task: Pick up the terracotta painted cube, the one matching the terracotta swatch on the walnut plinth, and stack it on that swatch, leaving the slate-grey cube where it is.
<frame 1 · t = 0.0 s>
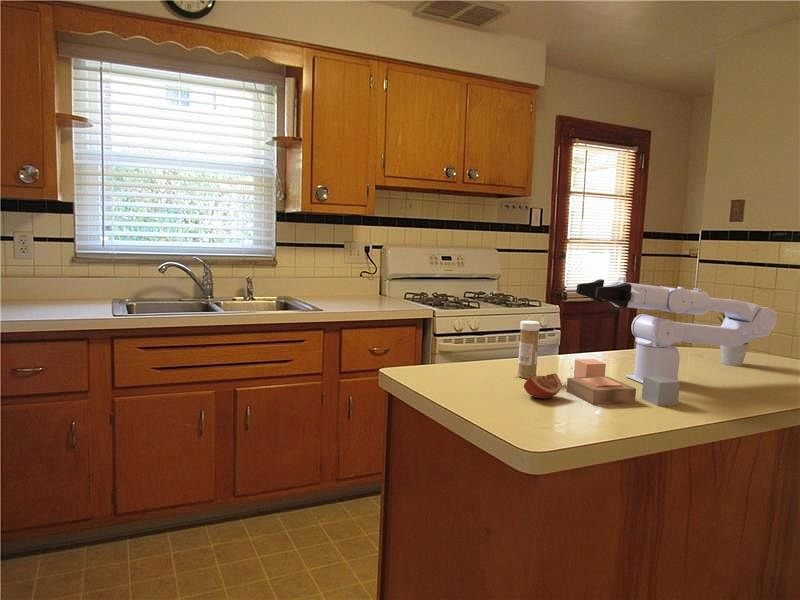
hand: (586, 290, 134), 22 cm above the table, tool horizontal, fingers open, 7 cm apart
sprinkles bottle: (526, 377, 141), on the table
walnut plinth: (599, 398, 126), on the table
slate cube: (659, 402, 124), on the table
terracotta cube: (588, 382, 138), on the table
house plant: (726, 364, 166), on the table
fruit slice: (542, 399, 123), on the table
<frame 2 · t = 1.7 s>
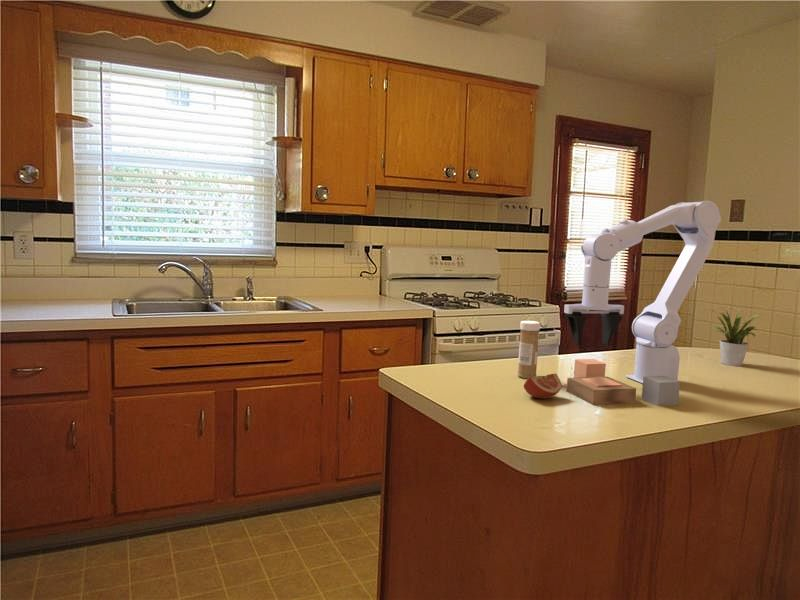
hand: (591, 344, 137), 9 cm above the table, tool pointing down, fingers open, 7 cm apart
nothing on the table moved.
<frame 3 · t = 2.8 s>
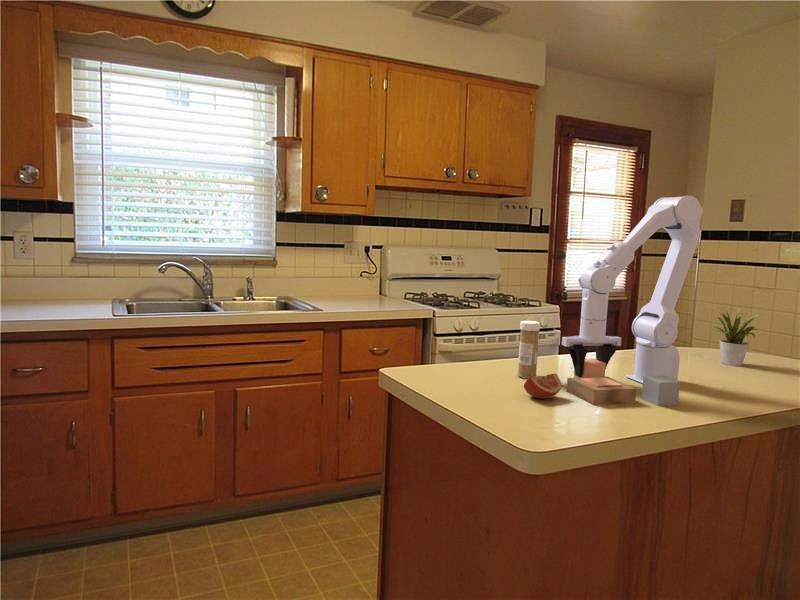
hand: (589, 375, 138), 1 cm above the table, tool pointing down, fingers closed on terracotta cube, 5 cm apart
terracotta cube: (588, 381, 138), on the table, touching gripper
everything else where it was.
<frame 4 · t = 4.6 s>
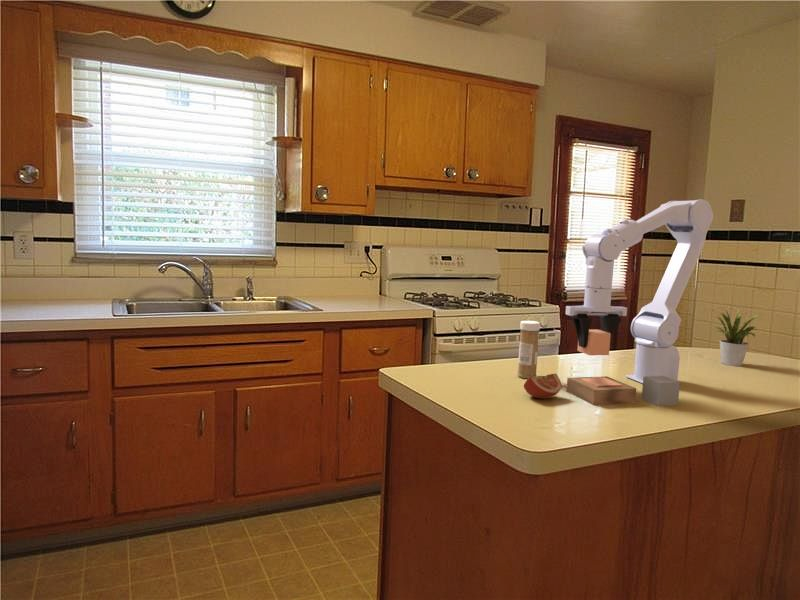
hand: (593, 346, 134), 9 cm above the table, tool pointing down, fingers closed on terracotta cube, 5 cm apart
terracotta cube: (592, 352, 135), point 8 cm above the table, touching gripper
everything else where it was.
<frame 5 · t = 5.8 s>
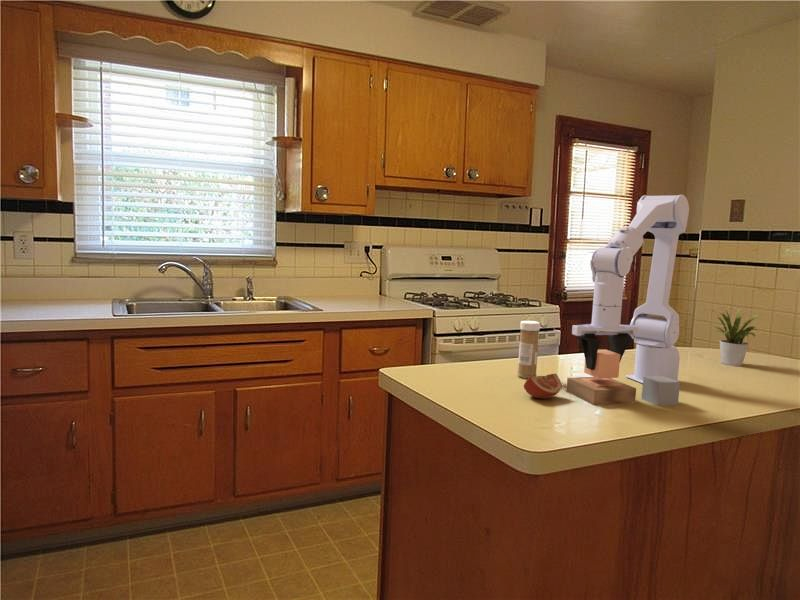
hand: (602, 368, 125), 6 cm above the table, tool pointing down, fingers closed on terracotta cube, 5 cm apart
terracotta cube: (600, 375, 125), point 5 cm above the table, touching gripper
everything else where it was.
when the fingers open (6 cm above the table, at t = 6.6 s): terracotta cube drops 1 cm, point 3 cm above the table.
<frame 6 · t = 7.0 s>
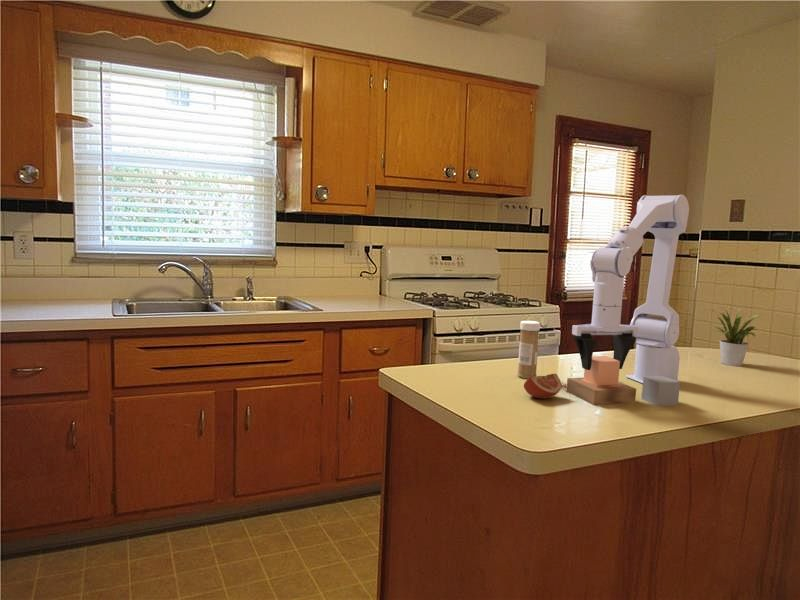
hand: (602, 368, 125), 6 cm above the table, tool pointing down, fingers open, 7 cm apart
terracotta cube: (600, 381, 125), point 3 cm above the table
everything else where it was.
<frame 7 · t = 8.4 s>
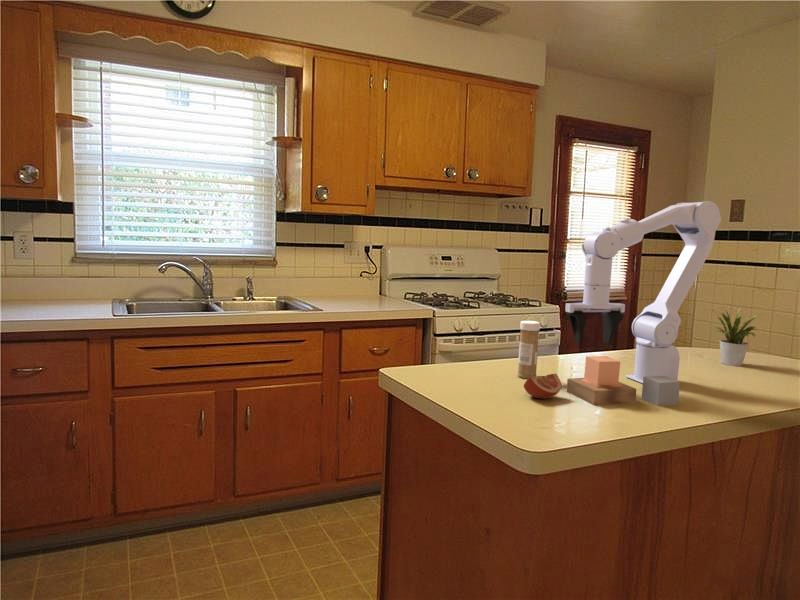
hand: (592, 342, 137), 9 cm above the table, tool pointing down, fingers open, 7 cm apart
nothing on the table moved.
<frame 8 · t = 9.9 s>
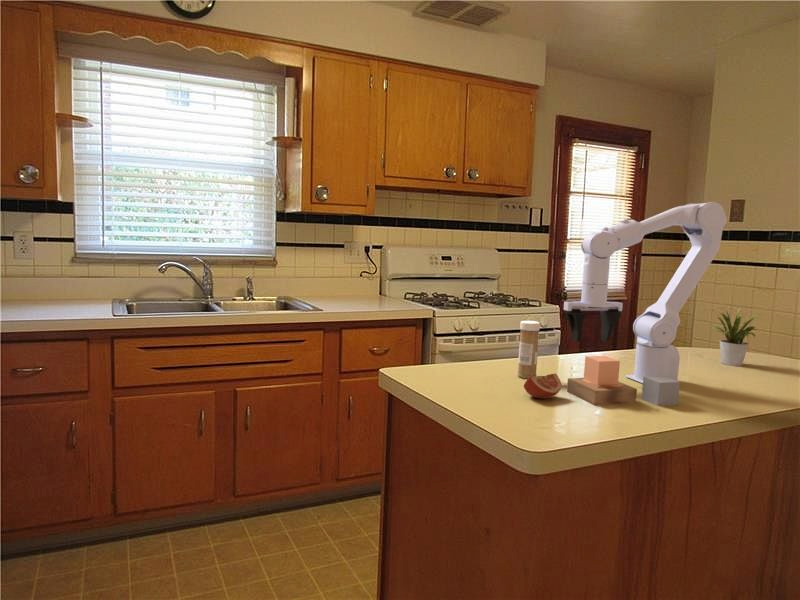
hand: (590, 340, 139), 9 cm above the table, tool pointing down, fingers open, 7 cm apart
nothing on the table moved.
at the end: terracotta cube 0.4 cm off-centre on the walnut plinth, point 3.8 cm above the walnut plinth's base; terracotta cube tilted 0°; the gripper is holding nothing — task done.
